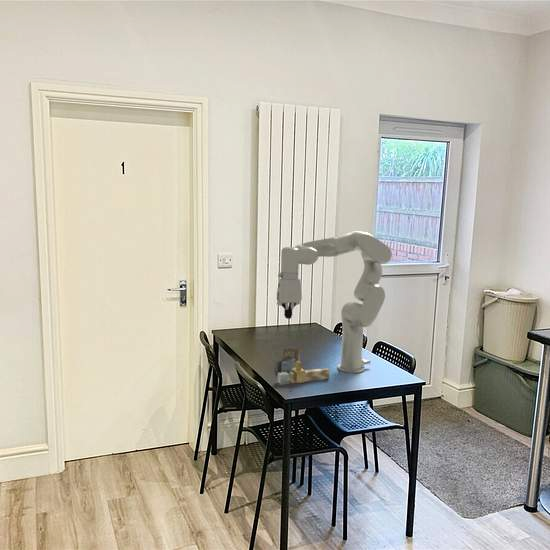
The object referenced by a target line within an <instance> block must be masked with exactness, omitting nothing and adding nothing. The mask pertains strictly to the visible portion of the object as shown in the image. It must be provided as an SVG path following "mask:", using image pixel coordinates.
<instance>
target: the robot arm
mask: <svg viewBox="0 0 550 550" xmlns="http://www.w3.org/2000/svg"><path fill="white" fill-rule="evenodd" d="M355 251H357V252H358V251H359V252H360V254H361V258H362V260H363V264H364V266H363V267H364V269H363V270H362V274H361V276H360V278H359V280H358V283H356V286H355V289H354V291H353V297H354V298H355V299H356V300H358V301H359V302H361V303H362V304H361V303H359V302H355V301H349V302H346V303H345V304H344V305H343V306H342V308H341V313H340V314H341V315H340V316H341V323H342V333H341V334H342V335H341V336H342V337H341V352H340V353H341V355H340V356H341V357H340V363H338V364H337V370H339V371H341V372H344V373H349V374H359V373H362V372H364V371H365V369H366V368H365V365H371V362H372V361H371V360H370V359H367V360H366V359H365V358H364V359H362V358H363V343H364V342H363V339H364V330H363V329H364V328H368V327H371V326H372V324H373V323H374V322H375V320H376V319H377V317H378V314H379V312H380V310H381V309H382V306H383V304H384V302H385V298H386V292H385V289H384V287H382V286H381V285H379V282H380V280H381V278H382V275H383V267H382V266H383V265H385V264H387V263H389V262H390V261H391V259H392V256H393V253H392V250H391V248H390V247H389V246H388V245H387V244H386V243H385V242H383V241H381V240H380V239H378V238H377V237H376V236H374V235H372V234H370V233H368V232H365V231H358V230H357V231H356V230H355V231H354V230H353V231H350V232H347V233H346V232H345V233H344V234H340V235H335V236H333V237H328V238H322V239H317V240H312V241H311V240H310V241H306V242H303V243H301V244H296V245H295V246H288V247H287V246H285V247H282V249H281V254H280V255H281V257H280V273H277V277H278V278H279V279H278V282H277V290H276V305H277V306H280V307H282V308H283V309H284V310H283V311H284V314H283V315H284V318H285V319H287V320H288V319H290V320H291V319H292V316H293V310H294V308H295V307H296V306H298V305H300V304H301V302H302V285H301V279H299V268H300V267H299V266H300V265H307V266H309V265H313V264H316V262H317V261H318V259H319V257H325V258H326V257H327V258H329V257H330V258H332V257H333V258H334V257H338V256H342V255H345V254H348V253H351V252H355Z"/></svg>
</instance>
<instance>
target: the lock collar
mask: <svg viewBox="0 0 550 550" xmlns="http://www.w3.org/2000/svg"><path fill="white" fill-rule="evenodd" d="M305 370H306V369H303V367H302V361H296V368H292V372H296V383H295V384H301V383H303V384H304V383H305V382H306V381H305Z"/></svg>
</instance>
